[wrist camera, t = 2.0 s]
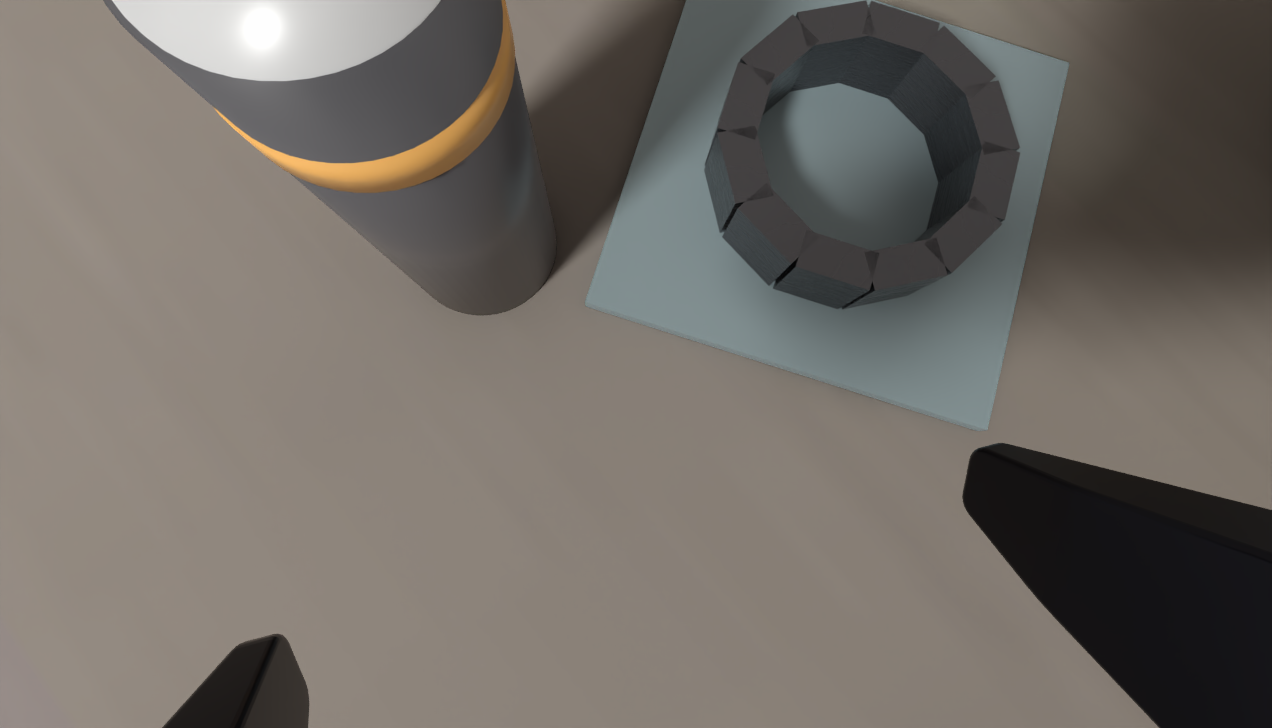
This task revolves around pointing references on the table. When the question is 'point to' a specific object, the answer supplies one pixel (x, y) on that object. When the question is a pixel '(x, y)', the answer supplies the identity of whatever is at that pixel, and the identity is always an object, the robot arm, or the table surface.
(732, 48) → the blue-gray square plate
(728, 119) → the barrel ring
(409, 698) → the table surface
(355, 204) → the gray canister
